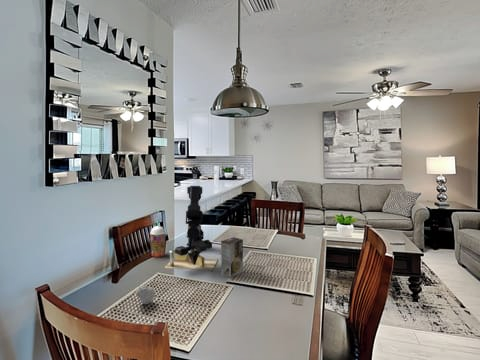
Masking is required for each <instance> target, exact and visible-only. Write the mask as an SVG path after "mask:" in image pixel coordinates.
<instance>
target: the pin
mask: <svg viewBox="0 0 480 360" xmlns="http://www.w3.org/2000/svg"><path fill="white" fill-rule="evenodd" d="M174 252H175V249H174V250H173V249H170V250H169V252H168V253H169V262H170V266H171V267H172V266H174Z"/></svg>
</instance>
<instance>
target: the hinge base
mask: <svg viewBox="0 0 480 360" xmlns="http://www.w3.org/2000/svg"><path fill="white" fill-rule="evenodd" d="M174 261H187V262H188V263H192V261H191V259H190V257H189V255H188V254H186V255H182V256H180V255H178V254H176V253H175V252H174Z"/></svg>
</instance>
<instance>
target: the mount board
mask: <svg viewBox="0 0 480 360" xmlns="http://www.w3.org/2000/svg"><path fill="white" fill-rule="evenodd" d="M218 261H219V258H208V257H207V258H205V257H204V267H201V266H199V265H197V264H195V265H193V263H188V262H187V261H174V266H172V267H171V266H170V261H169V262H168V263H167V264H166V265H165V266H164V269H176V270H177V269H179V270H180V269H181V270H183V269H184V270H199V271H200V270H201V271H203V270H204V271H209V272H213V270H214V268H215V266H216V265H217V263H218Z"/></svg>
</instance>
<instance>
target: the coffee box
mask: <svg viewBox="0 0 480 360" xmlns="http://www.w3.org/2000/svg"><path fill="white" fill-rule="evenodd" d="M220 243H221V248H220V249H221V250H220V251H221V252H220V257H221V259H220V261H221V262H220V263H221V264H220V265H221V266H220V269H221V271H220V272H221V275H222V276H226V277H228V278H233V277H235V276H237V275H239V274H241V273H243V272H244V253H243V252H244V240H243V239H241V238H238V237H234V236H233V237H229V238H227V239H224V240H221V242H220Z"/></svg>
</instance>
